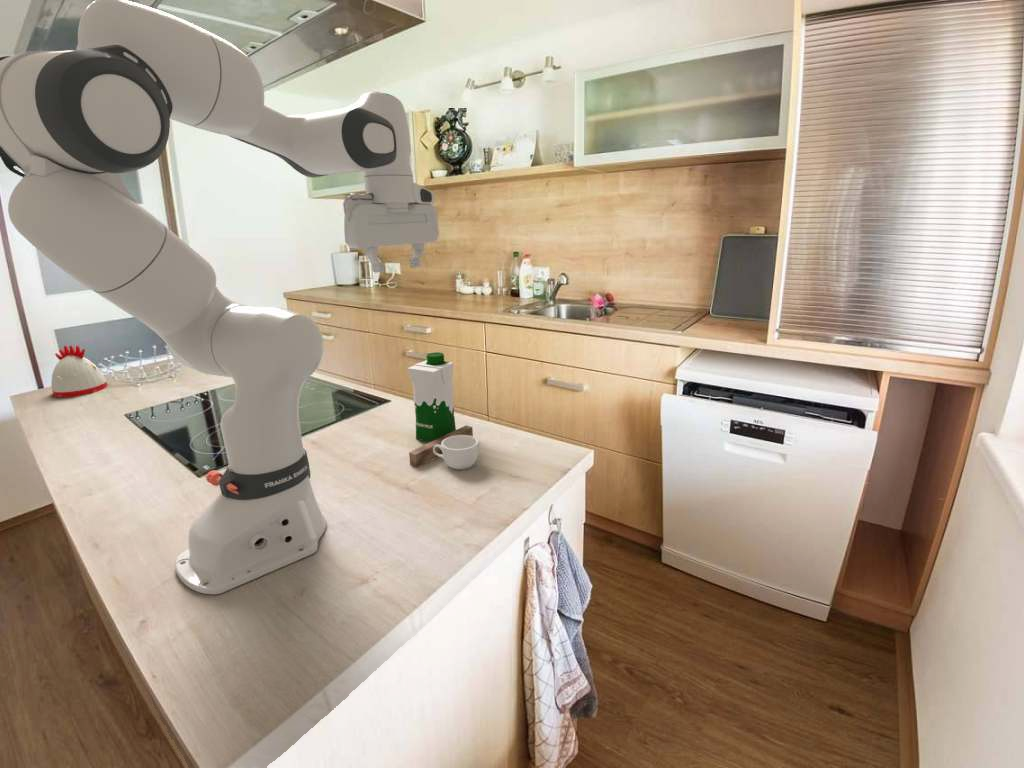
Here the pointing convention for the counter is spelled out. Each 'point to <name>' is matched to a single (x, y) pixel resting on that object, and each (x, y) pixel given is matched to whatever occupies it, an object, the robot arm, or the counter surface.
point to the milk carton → (433, 397)
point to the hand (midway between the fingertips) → (397, 269)
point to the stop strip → (426, 451)
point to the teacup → (459, 451)
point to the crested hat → (75, 374)
